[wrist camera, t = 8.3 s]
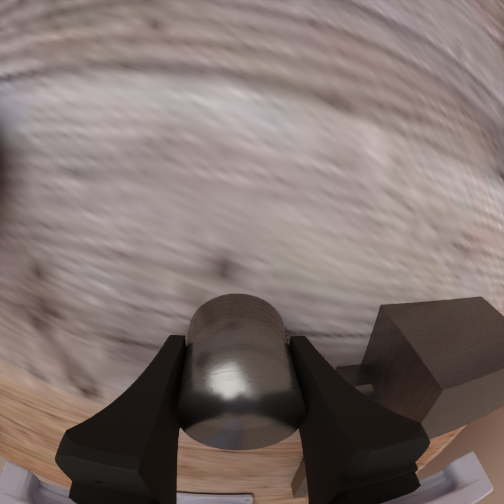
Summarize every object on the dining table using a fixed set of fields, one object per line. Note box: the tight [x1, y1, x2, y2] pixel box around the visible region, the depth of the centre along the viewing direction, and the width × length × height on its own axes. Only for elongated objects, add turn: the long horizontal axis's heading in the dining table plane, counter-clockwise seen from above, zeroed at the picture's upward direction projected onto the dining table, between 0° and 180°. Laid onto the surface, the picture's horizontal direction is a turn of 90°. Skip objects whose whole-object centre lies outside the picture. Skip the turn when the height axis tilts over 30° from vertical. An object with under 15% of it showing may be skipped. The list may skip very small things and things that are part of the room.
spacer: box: [177, 294, 306, 450], centre depth 11 cm, size 4×4×5 cm
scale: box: [291, 297, 504, 502], centre depth 15 cm, size 21×11×6 cm, turn 177°
